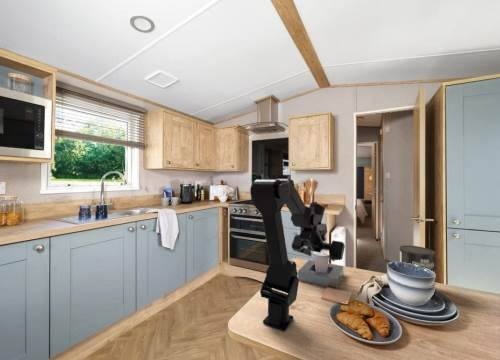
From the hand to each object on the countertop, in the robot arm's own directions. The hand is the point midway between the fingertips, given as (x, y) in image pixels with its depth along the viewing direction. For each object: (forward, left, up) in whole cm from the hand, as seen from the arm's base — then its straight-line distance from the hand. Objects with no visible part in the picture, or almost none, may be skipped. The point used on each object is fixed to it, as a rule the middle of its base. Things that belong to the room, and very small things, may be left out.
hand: (322, 257), depth 91 cm
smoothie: (-1, 0, -8) cm, 8 cm away
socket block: (-1, 0, -8) cm, 8 cm away
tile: (-13, -8, -8) cm, 17 cm away
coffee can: (+7, -31, -8) cm, 33 cm away
